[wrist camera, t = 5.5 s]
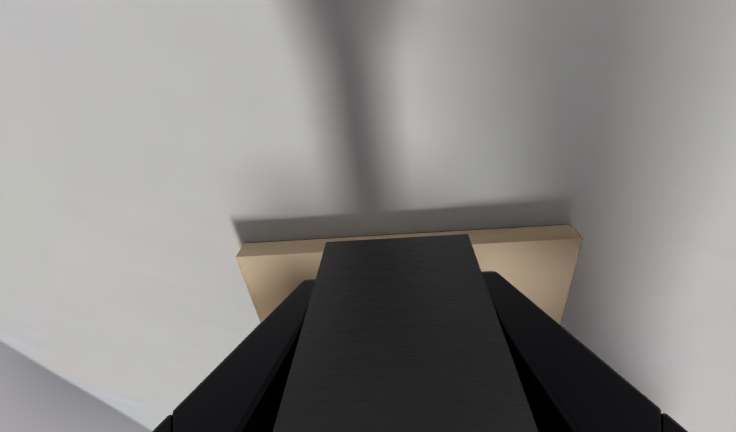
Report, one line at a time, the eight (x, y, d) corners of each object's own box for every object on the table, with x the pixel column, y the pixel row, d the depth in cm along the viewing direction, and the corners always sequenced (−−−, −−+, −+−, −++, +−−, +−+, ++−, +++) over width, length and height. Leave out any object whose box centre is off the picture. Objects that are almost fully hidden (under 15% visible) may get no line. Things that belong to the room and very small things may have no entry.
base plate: (510, 481, 25) (514, 497, 25) (328, 478, 27) (326, 493, 26) (570, 224, 14) (582, 238, 13) (244, 243, 15) (235, 257, 14)
